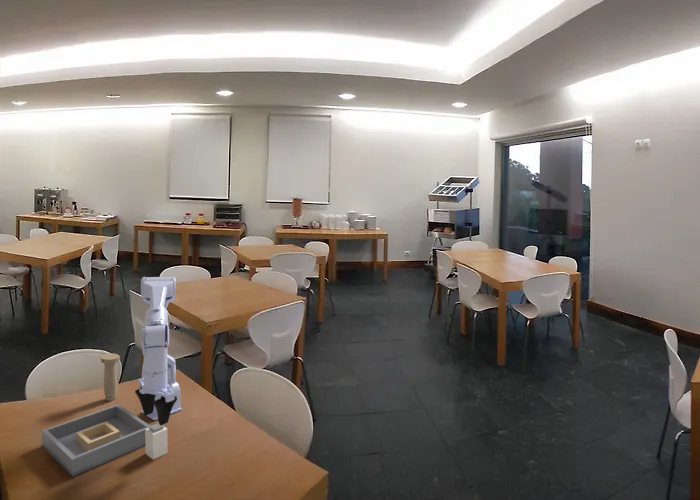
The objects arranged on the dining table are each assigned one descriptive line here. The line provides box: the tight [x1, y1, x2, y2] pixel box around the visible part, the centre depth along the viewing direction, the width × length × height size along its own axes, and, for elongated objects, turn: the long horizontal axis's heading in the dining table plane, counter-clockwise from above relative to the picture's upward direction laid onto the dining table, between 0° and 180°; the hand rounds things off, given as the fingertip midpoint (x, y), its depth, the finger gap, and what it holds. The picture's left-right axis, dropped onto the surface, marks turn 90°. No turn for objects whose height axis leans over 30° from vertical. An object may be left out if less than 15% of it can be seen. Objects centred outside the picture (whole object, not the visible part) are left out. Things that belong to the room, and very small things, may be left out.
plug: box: [144, 422, 169, 461], centre depth 114 cm, size 4×4×8 cm
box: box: [41, 403, 151, 477], centre depth 117 cm, size 20×20×4 cm
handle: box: [99, 353, 121, 402], centre depth 141 cm, size 5×6×15 cm
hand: (156, 418), depth 113 cm, fingers open, 7 cm apart
